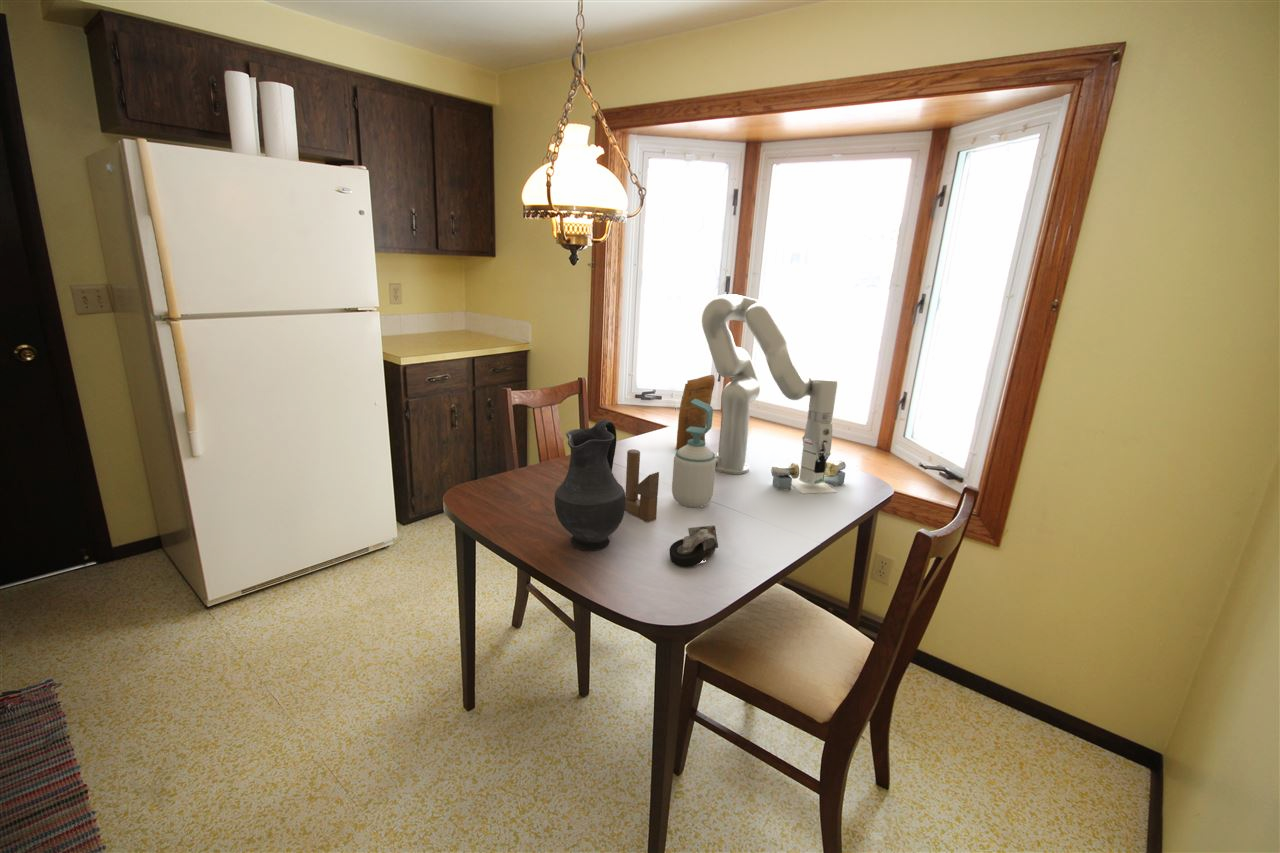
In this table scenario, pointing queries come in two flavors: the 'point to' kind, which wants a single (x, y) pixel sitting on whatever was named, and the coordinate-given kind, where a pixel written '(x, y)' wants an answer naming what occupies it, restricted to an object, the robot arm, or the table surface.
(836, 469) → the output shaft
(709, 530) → the caster wheel
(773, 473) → the shaft
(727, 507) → the table surface
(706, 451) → the soap bottle
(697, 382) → the pancake mix bag
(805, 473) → the syrup box
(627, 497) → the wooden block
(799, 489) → the mat
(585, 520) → the pitcher
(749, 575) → the table surface
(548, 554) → the table surface
